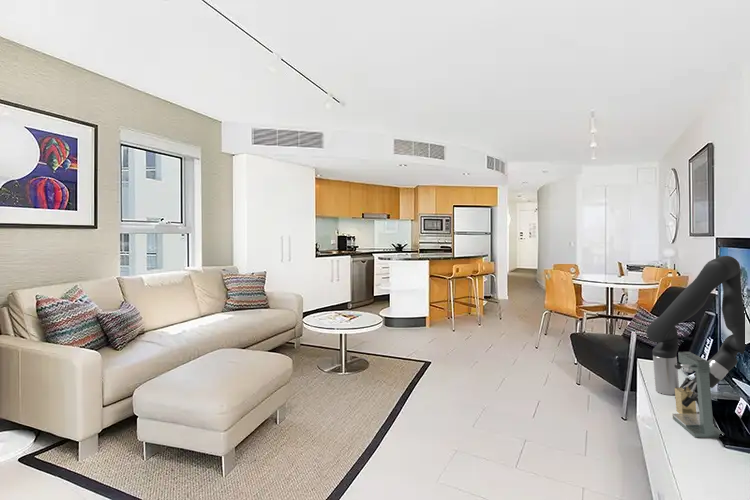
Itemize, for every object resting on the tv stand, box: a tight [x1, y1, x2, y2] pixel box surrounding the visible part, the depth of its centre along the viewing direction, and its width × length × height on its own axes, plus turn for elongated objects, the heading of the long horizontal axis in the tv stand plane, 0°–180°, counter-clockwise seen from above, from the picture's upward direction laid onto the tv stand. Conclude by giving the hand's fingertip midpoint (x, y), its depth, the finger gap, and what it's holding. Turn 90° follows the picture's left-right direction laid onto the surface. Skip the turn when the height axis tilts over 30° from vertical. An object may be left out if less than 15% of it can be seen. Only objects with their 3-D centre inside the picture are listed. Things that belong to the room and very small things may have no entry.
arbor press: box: [672, 351, 725, 439], centre depth 158 cm, size 16×13×28 cm
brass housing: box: [674, 387, 697, 414], centre depth 170 cm, size 5×5×11 cm
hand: (680, 402), depth 170 cm, fingers closed on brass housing, 5 cm apart
